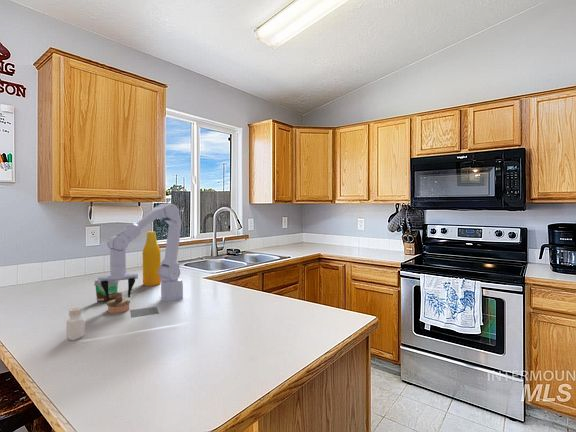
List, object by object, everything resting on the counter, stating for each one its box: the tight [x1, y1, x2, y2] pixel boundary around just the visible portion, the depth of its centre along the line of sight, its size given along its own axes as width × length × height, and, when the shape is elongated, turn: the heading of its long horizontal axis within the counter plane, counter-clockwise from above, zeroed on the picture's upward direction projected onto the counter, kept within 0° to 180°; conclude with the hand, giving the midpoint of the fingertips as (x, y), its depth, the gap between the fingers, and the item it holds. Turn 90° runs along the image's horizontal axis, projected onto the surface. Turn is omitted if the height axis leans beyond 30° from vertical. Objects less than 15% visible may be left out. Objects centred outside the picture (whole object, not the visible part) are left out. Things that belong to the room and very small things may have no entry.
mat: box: [129, 306, 160, 318], centre depth 131 cm, size 10×10×1 cm
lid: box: [106, 291, 131, 307], centre depth 133 cm, size 9×9×4 cm
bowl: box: [107, 303, 130, 314], centre depth 134 cm, size 8×8×3 cm
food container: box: [93, 280, 120, 303], centre depth 150 cm, size 12×6×10 cm, turn 168°
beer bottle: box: [142, 231, 162, 287], centre depth 179 cm, size 9×9×29 cm
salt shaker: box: [66, 307, 85, 341], centre depth 106 cm, size 4×4×10 cm
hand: (118, 297), depth 134 cm, fingers open, 7 cm apart
